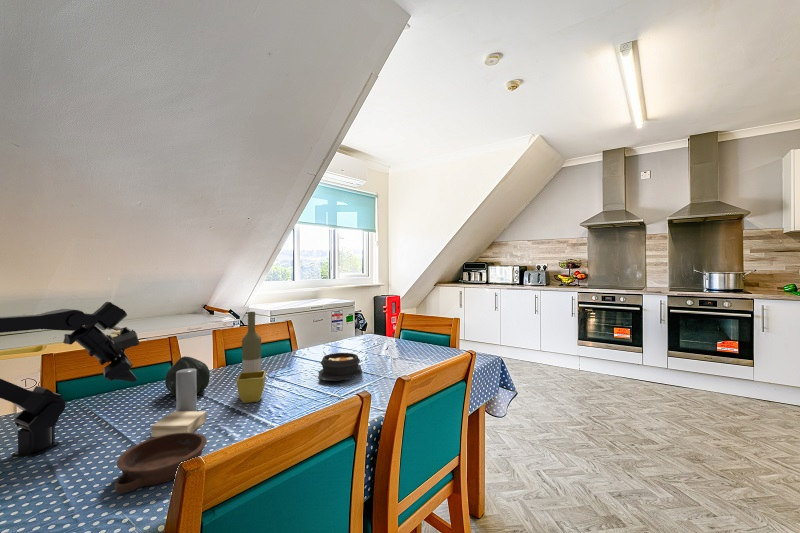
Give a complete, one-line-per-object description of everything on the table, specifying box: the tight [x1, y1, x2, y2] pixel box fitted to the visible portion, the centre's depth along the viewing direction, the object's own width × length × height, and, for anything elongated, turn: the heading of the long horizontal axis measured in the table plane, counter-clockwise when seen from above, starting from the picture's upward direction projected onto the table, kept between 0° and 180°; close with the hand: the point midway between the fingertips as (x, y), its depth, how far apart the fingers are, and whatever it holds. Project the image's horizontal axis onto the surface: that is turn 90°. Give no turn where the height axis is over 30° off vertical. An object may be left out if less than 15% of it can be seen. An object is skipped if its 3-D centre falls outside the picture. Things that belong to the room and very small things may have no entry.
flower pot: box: [236, 370, 266, 404], centre depth 128 cm, size 9×9×9 cm
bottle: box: [241, 311, 262, 373], centre depth 138 cm, size 7×7×30 cm
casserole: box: [317, 352, 363, 382], centre depth 156 cm, size 25×19×8 cm
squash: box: [164, 355, 211, 397], centre depth 135 cm, size 14×15×15 cm
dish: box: [114, 432, 208, 494], centre depth 85 cm, size 17×22×5 cm
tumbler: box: [175, 369, 198, 411], centre depth 116 cm, size 6×6×14 cm
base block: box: [150, 410, 207, 438], centre depth 106 cm, size 10×10×3 cm
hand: (133, 373), depth 115 cm, fingers open, 9 cm apart
